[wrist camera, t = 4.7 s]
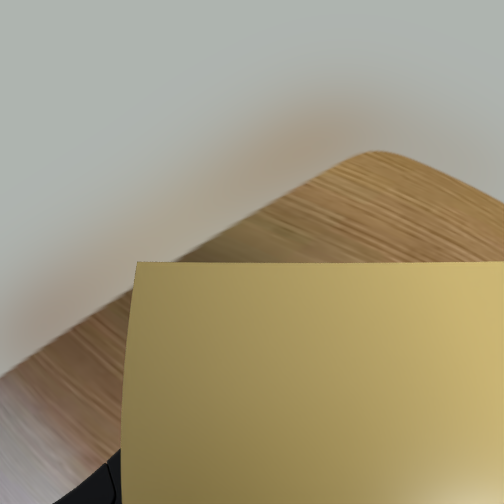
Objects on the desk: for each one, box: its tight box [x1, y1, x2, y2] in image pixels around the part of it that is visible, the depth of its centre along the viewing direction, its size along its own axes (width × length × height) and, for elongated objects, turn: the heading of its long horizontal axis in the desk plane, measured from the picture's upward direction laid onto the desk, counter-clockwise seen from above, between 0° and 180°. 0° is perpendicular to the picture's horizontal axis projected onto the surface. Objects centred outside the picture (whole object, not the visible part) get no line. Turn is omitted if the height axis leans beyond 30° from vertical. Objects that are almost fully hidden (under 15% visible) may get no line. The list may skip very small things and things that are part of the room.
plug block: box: [121, 262, 504, 504], centre depth 7 cm, size 4×4×12 cm
